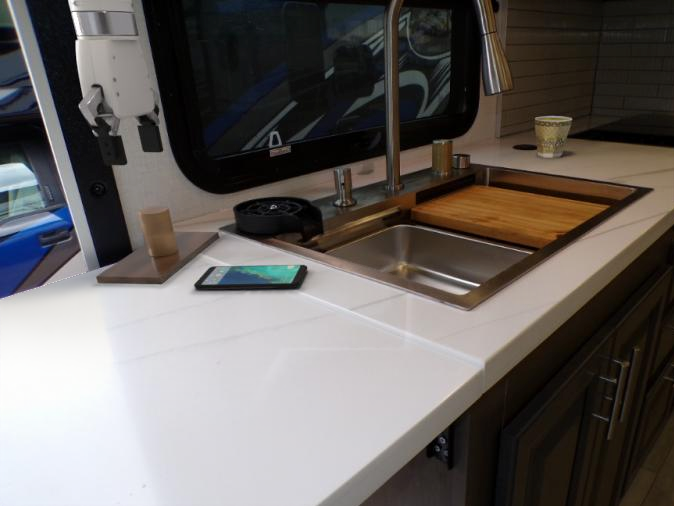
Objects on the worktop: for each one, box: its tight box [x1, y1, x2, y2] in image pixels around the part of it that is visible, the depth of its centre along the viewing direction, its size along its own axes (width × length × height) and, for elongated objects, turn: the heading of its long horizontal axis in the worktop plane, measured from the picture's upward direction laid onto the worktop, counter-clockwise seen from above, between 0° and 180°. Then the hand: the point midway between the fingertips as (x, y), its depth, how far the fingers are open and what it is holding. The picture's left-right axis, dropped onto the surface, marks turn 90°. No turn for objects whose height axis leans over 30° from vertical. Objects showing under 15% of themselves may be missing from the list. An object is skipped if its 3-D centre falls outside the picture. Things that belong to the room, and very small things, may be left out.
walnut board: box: [95, 231, 220, 285], centre depth 85 cm, size 10×20×1 cm, turn 174°
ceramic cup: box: [534, 115, 573, 159], centre depth 148 cm, size 13×10×10 cm
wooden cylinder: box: [137, 205, 178, 257], centre depth 83 cm, size 4×4×7 cm
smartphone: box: [193, 264, 308, 290], centre depth 76 cm, size 7×1×15 cm
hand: (135, 158), depth 78 cm, fingers open, 9 cm apart
